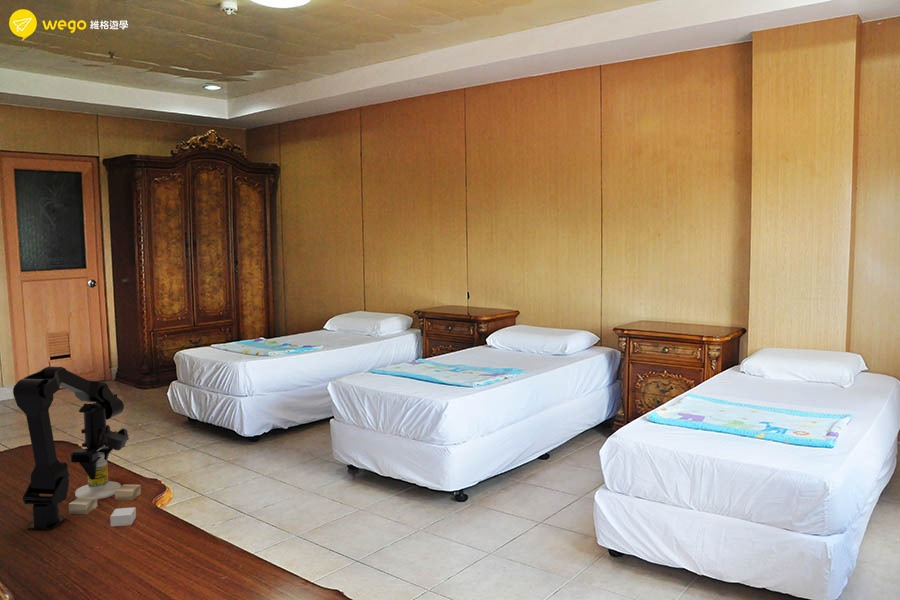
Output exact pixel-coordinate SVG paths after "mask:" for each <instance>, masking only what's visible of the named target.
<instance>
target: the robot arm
mask: <svg viewBox="0 0 900 600" xmlns="http://www.w3.org/2000/svg"><path fill="white" fill-rule="evenodd" d="M61 387H62V388H64V389H66V390H68V391H70V392H73V394H74V395H75V397H76V398H77V399H78V400H80V401H81V402H85V403H83V405H82V406H81V408H80V409H79V410H78V412H79V413H80V414H82V413H83V427H84V428H83V429H81V434H84V442H82V443H81V447H82V448H77V449H76V450H74V451H73V452H72V453H71V454H70V455H69V462H70V463H79V465H80V466H81V467H82V468H83V470H84V472H85V473H86V474H87V477H88V476H89V478H90V479H91V480H94V479H95V475H96V464H97V461H98V460H99V459H100V458H101V457H98V452H103V453H104V456H105V457H104V459H105V460H106V461H107V462H108V459H109V456H110V453H111V452H112V451H113V450H115V451H120V450H122V449H123V448H125V447H126V443H127V441H128V440H130V437H129V433H128V429H126V428H121V429H119V430H118V431H117V430H115V431H112V430H111V426H110V425H109V424H107V420H110V419H112V418H113V417H116V416H119V415H120V414H122V413H123V412H124V409H125V404H124V402H123V400H122V399H120V397H118V394H117V393H113V392H112V391H111V389H110V387H109V385H108V384H107V383H106V382H105V381H99V380H98V381H97V380H90V379H86V378H84V377H82V376H81V375H78V374H76V373H73V372H71V371H69V370H67V368H65V367H63V366H52V365H51V366H46V367H44V368H42V369H40V370H39V371H37V372H34V373H32V374H29V375H27V376H25V377H23V378H21V379H19V380H18V381H17V382H16V383H15V385H14V386H13V389H12V393H13V397H14V400H15V403H16V406H17V407H18V408H19V409H20V410H21V411H22V412H23V413H24V414H25V416H26V421H27V426H28V431H29V432H28V433H29V437H30V443H31V449H32V454H33V459H34V467H33V469H32V471H31V472H30V475H29V479H30V482H29V484H28V486H27V488H26V491H25V492H24V494H23V496H22V501H23V503H24V505H32V518H33V522H32V523H31V524H30V525H29V526H28V527H27V529H28V530H53V529H55V528H56V527H57V526H58V525H60V524H61V523H62V522H63V521H65V520H66V517H65V516H60V503H62V502H63V501H65V500H67V497H68V490H69V485H70V478H69V477H70V473H69V471H68V470H69V469H68V466H69V465H68V464H67V462H64V461H63V462H62V461H59V460H58V457H57V451H56V447H55V446H56V445H55V441H54V434H53V429H52V422H51V418H50V417H51V416H50V412H49V409H50V407H51V406H52V403H53V401H54V395H55V394H56V393H57V392H58V391H59V390H60V389H61Z"/></svg>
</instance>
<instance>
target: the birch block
mask: <svg viewBox="0 0 900 600" xmlns="http://www.w3.org/2000/svg"><path fill="white" fill-rule="evenodd" d="M96 507H97V508H98V499H97V498H95V497H79V498H75V500H73V501H71V502H70V503H68V514H71V515H84V516H85V515H88V514H89V513H91V512H92V511H94V510H95V509H96ZM93 509H94V510H93Z"/></svg>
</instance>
